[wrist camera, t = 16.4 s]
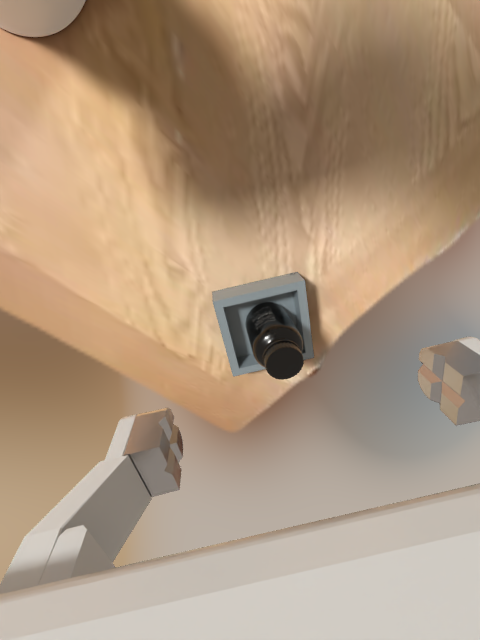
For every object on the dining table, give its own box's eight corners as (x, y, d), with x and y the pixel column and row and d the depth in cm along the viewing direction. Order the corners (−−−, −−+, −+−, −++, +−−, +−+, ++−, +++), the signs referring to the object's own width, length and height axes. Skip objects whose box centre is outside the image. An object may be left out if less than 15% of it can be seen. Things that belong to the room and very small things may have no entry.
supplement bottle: (243, 339, 48) (253, 386, 37) (247, 299, 45) (259, 337, 34) (284, 340, 49) (306, 386, 38) (291, 301, 46) (317, 339, 35)
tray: (212, 291, 45) (212, 301, 41) (297, 271, 45) (304, 280, 41) (231, 362, 51) (233, 376, 47) (306, 344, 51) (314, 357, 47)
